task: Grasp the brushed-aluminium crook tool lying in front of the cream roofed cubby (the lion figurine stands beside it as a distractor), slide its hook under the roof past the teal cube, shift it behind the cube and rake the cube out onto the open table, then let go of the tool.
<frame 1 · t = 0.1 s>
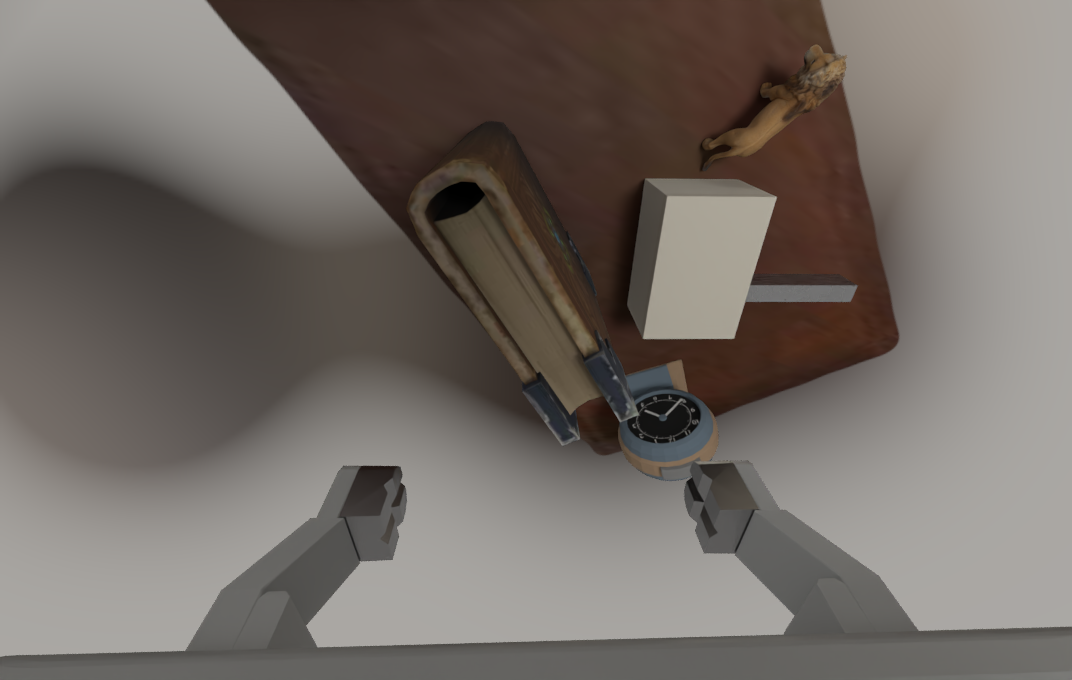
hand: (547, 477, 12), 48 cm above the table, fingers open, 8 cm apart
decorative book: (526, 213, 56), on the table
lion figurine: (749, 111, 50), on the table
cubby: (678, 247, 59), on the table
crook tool: (775, 281, 62), on the table
alarm clock: (649, 390, 72), on the table
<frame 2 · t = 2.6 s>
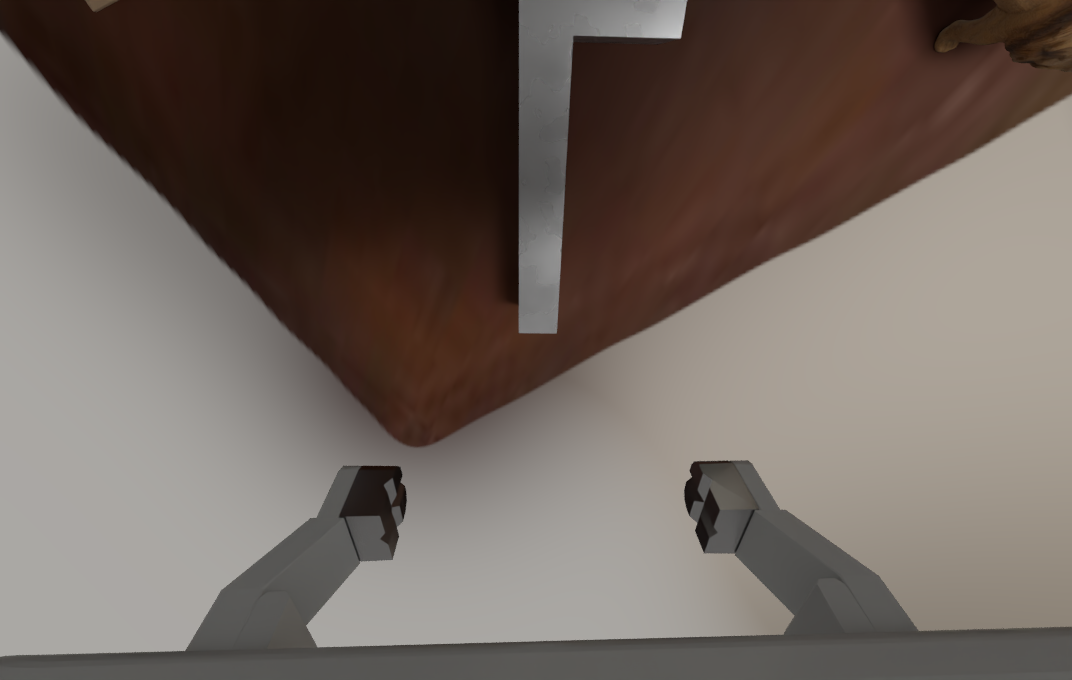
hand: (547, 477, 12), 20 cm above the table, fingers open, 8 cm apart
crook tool: (539, 177, 26), on the table
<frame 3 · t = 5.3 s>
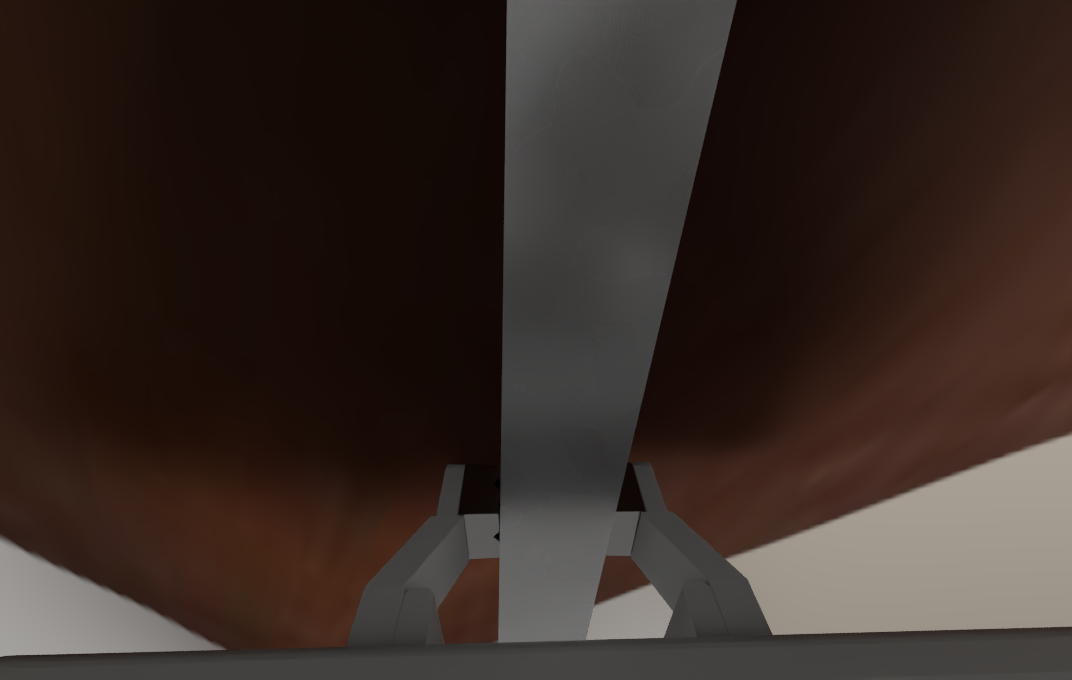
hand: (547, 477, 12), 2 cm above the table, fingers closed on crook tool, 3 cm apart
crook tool: (555, 307, 11), on the table, touching gripper
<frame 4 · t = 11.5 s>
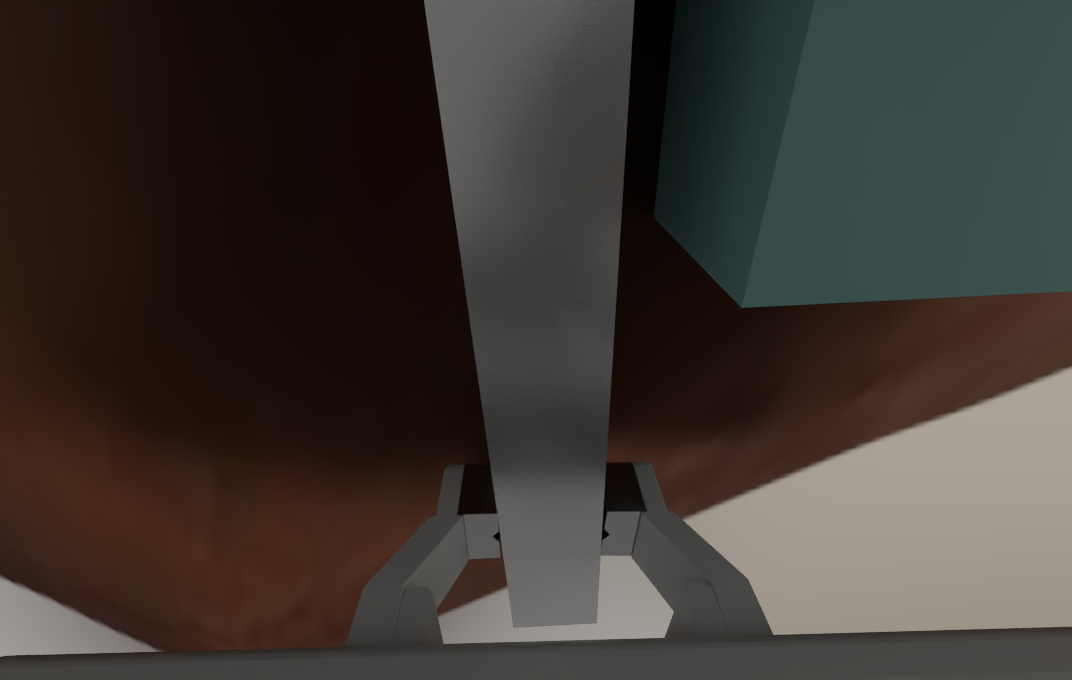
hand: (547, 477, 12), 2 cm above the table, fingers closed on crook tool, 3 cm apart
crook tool: (538, 297, 11), on the table, touching gripper
cube: (778, 96, 9), on the table
when the fingers open (2 cm above the table, at t = 12.5 s): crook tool stays where it is, on the table.
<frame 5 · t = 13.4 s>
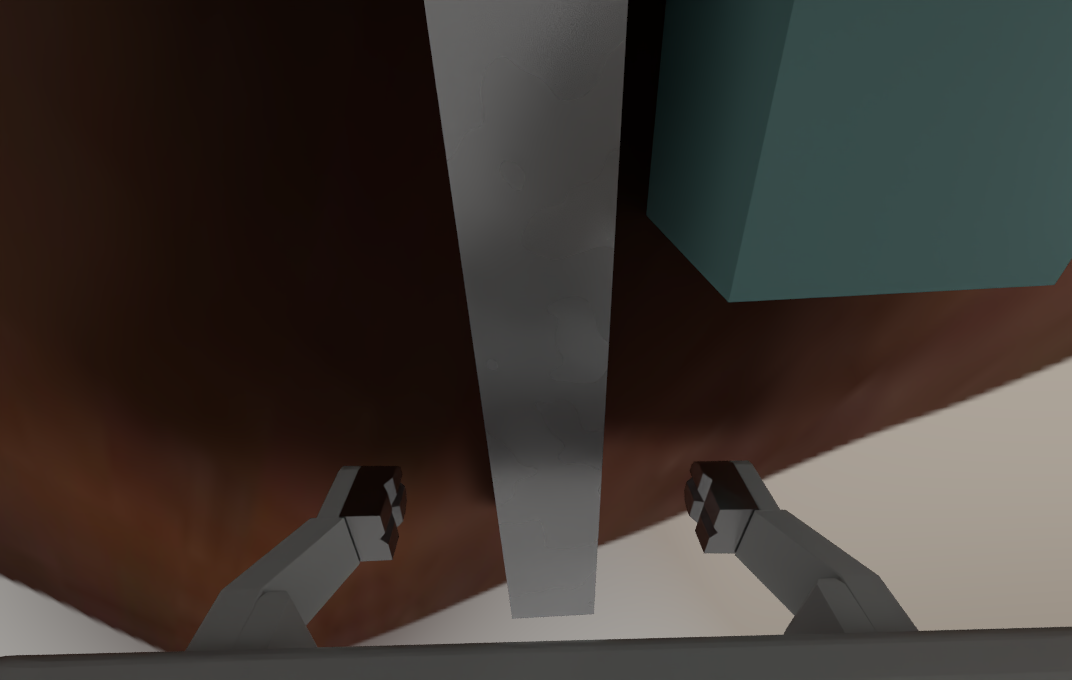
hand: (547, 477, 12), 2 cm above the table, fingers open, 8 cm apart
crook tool: (536, 293, 12), on the table
cube: (767, 95, 9), on the table
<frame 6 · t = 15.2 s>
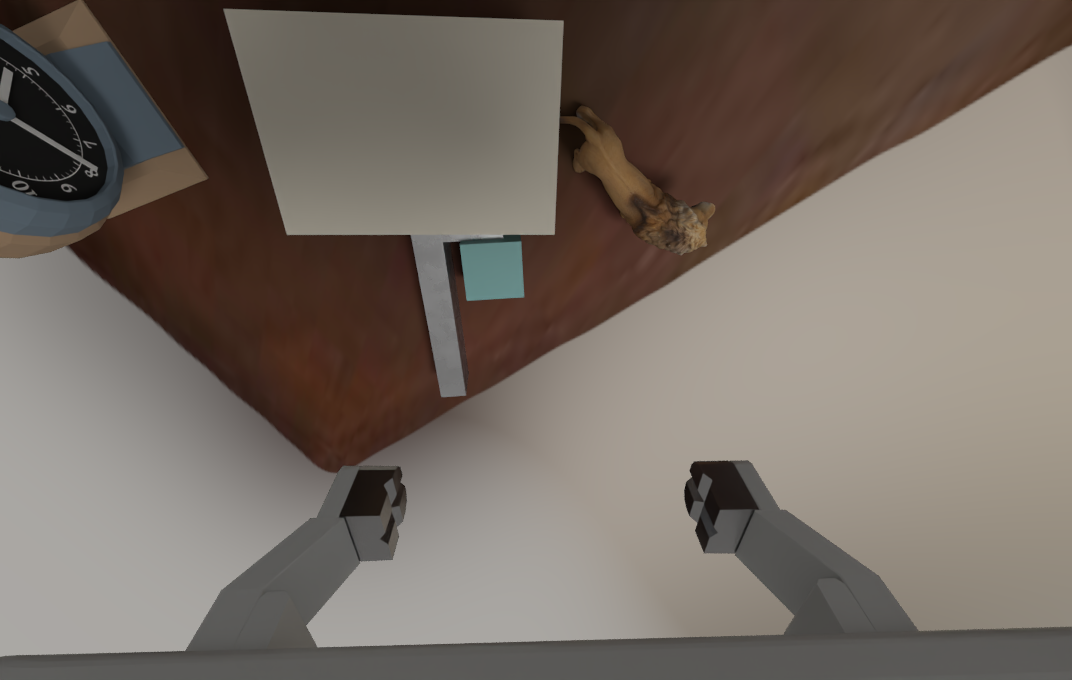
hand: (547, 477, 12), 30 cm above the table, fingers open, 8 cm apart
lion figurine: (618, 171, 37), on the table
cubby: (434, 126, 34), on the table
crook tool: (445, 299, 42), on the table
alarm clock: (100, 120, 33), on the table
cube: (494, 252, 40), on the table
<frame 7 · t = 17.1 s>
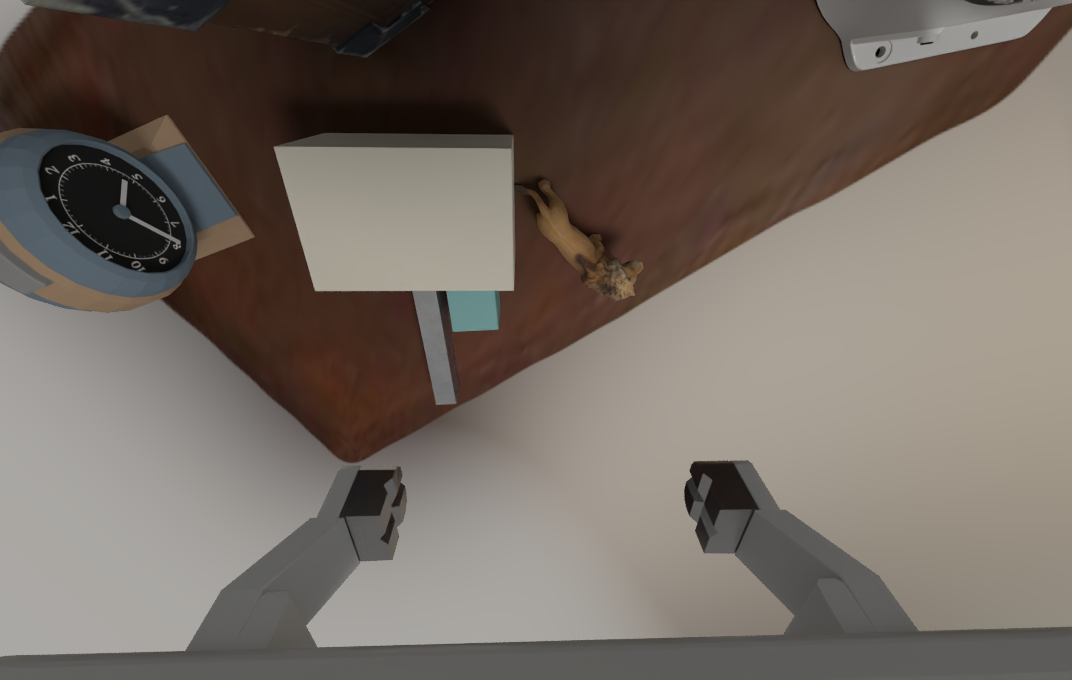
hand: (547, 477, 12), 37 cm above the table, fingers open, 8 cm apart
lion figurine: (574, 227, 46), on the table
cubby: (427, 198, 44), on the table
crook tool: (440, 326, 52), on the table
alarm clock: (176, 196, 43), on the table
cube: (477, 290, 49), on the table
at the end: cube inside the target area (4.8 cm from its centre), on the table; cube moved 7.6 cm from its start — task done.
